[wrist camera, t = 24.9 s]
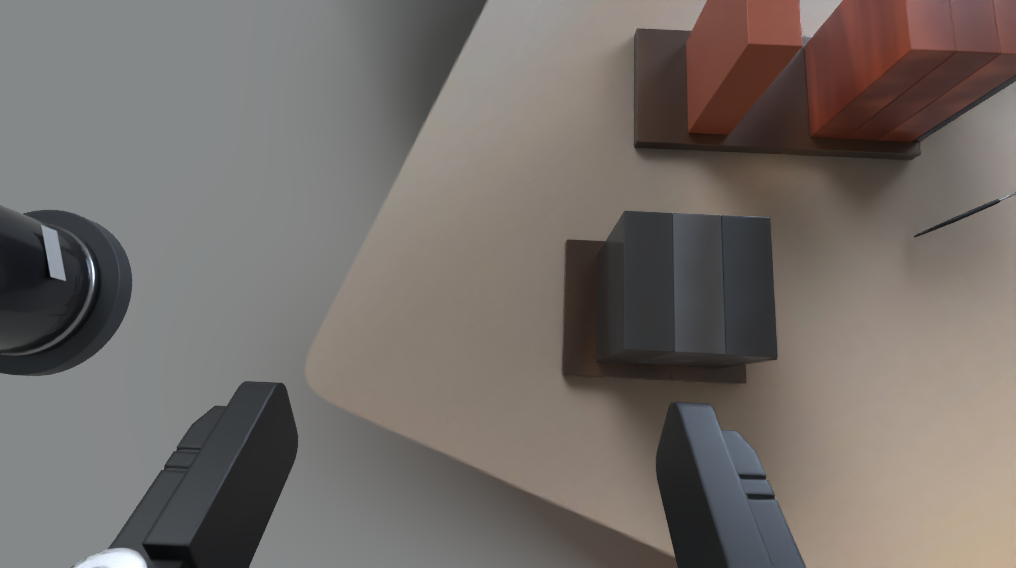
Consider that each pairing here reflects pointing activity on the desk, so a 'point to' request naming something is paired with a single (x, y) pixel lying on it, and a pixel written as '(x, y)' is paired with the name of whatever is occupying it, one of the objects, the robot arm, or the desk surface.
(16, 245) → the robot arm
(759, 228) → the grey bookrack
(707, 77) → the orange clay brick
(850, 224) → the desk surface
